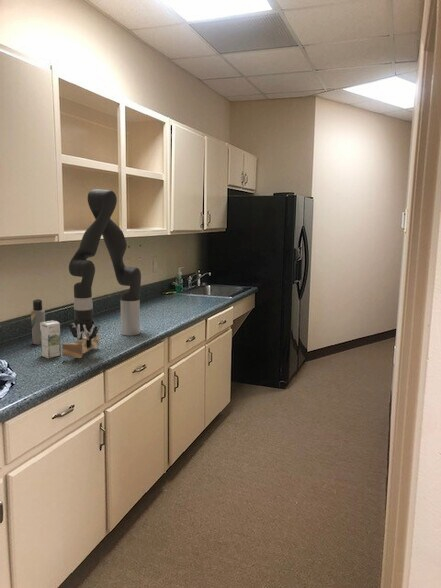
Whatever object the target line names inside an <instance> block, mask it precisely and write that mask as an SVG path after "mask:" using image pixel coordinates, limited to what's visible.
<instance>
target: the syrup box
mask: <svg viewBox="0 0 441 588" xmlns="http://www.w3.org/2000/svg"><path fill="white" fill-rule="evenodd" d="M40 333H41V344H40V356H42V357H43V358H46V359H53V358H57V357H60V356H61V353H62V352H61V349H62V348H61V323H60V322H59V321H57V320H47V321H45V322H41V323H40Z"/></svg>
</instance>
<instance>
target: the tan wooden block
mask: <svg viewBox="0 0 441 588" xmlns="http://www.w3.org/2000/svg"><path fill="white" fill-rule="evenodd" d="M99 335H100V334H98V333H97V335H96V337H95V338H93V339H92V346H91V347H90V348H87V339H86V336H83V337H82V339H79V340H78V339H77V340H76V341H75V340H74V341H73V342H70V343H65V342H64V343H62V344H61V345H62V348H61V349H62V352H61V353H62V357H67V358H76V359H81V358H83V354H84V353H86V352H88V351H90V350H92V349H94V348H96V347H98V346H100V341H99V340H100V337H99Z"/></svg>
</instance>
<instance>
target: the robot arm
mask: <svg viewBox="0 0 441 588" xmlns="http://www.w3.org/2000/svg"><path fill="white" fill-rule="evenodd" d="M87 203H88V207H89V209H90V212H91V214H92V215H93V218H94V219H95V220H94V221H93V222H91V225H89V226H88V227H87V228H86V230H85V232H83V235H82V238H81V241H80V244H79V246H78V249H77V250H76V252H75V254H74V255H73V256H72V258H71V260H70V262H69V264H68V272H69V274H70V275H71V276H73V277H78V278H79V277H80V278H81V280H80V282H79V281H78V282H76V283H74V285H73V296H74V297H73V316H74V321H73V322H72V323H69V324H68V328H69V331H70V333H71V335H72V337H73V338H76V339H77V340H79V339H82V338H84V335H85V337H86V339H87V348H90V347H91V346H92V339H93V338H95V337H96V335H97V334H98V332H99V329H100V327H101V326H100V325H99V324H98V325H97V324H95V322H94V307H93V306H94V305H93V304H94V303H93V295H92V294H93V293H92V292H93V291H92V287H93V282H94V278H95V274H96V266H95V264H94V263H93V261H92V260H88V259H90V258H93V257H95V256H96V254H97V251H98V247H99V244H100V241H101V238H103V240H104V241H103V242H104V244H105V247H106V249H107V251H108V254H109V256H110V260H111V262H112V267H113V270H114V273H115V278H116V281H117V284H118V285H120V286H125V287H126V286H127V287H129V290H128V291H125V292H123V293H120V334H121V335H122V336H137V335H140V334H141V329H140V328H141V319H140V318H141V316H140V315H141V313H140V312H141V311H140V309H141V308H140V305H141V304H140V302H141V299H140V296H141V290H142V289H141V285H142V272H141V270H140V268H138V267H132V266H126V265H125V263H124V257H125V253H126V250H127V247H128V244H127V240H126V237H125V234H124V232H123V230H122V229H121V228H120V227H119V225H117V223H115V222H114V221H113V219H111V217H112V216H113V213H114V211H115V209H116V206H117V203H118V200H117V195H116V193H115V192H114V190H111V189H97V188H96V189H91V190H89V191H88V194H87Z"/></svg>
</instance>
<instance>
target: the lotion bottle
mask: <svg viewBox="0 0 441 588" xmlns="http://www.w3.org/2000/svg"><path fill="white" fill-rule="evenodd" d="M30 313H31V314H30V316H31V334H32V336H31V337H32V338H31V339H32V344H34V345H36V346H37V345H41V333H40V323H41V322H46V311H45V309H43V300H42V299H38V298H37V299H35V300H32V310H31V312H30Z"/></svg>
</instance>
